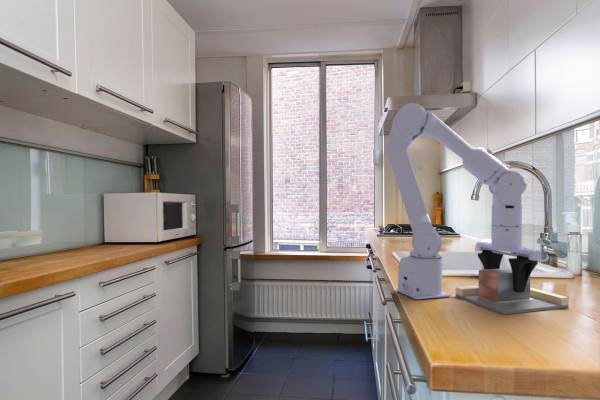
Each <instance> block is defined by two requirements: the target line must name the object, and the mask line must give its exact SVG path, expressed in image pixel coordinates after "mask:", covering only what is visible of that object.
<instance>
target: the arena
mask: <svg viewBox="0 0 600 400" xmlns="http://www.w3.org/2000/svg"><path fill="white" fill-rule="evenodd" d="M455 297H456V298H459V299H461V300H465V301H467V302H470V303H473V304H475V305H478V306H481V307H484V308H486V309H489V310H491V311H494V312H496V313H499V314H502V315H511V314H512V315H513V314H521V313H531V312H539V311H549V310H558V309H559V310H560V309H566V308H567V309H569V306H570V305H569V304H570V303H569V299H570V298H569V297H568V296H565V295H561V294H557V293H555V292H554V293H553V292H551V291H550V292H549V291H546V290H542V289H537V288H533V287H531V286H530V299H525V300H514V301H503V302H491V301H488V300H485V299H483V298H480V297H479V284H478V285H469V286H468V285H465V286H464V285H463V286H456V287H455Z"/></svg>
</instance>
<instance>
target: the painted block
mask: <svg viewBox="0 0 600 400" xmlns="http://www.w3.org/2000/svg"><path fill="white" fill-rule="evenodd" d="M478 285H479V297H480V298H483V299H485V300H488V301H491V302H503V301H514V300H525V299H530V287H531V275H530V276H529V278H528V281H527V284H526V287H525V290H524V292H518V293H517V292H514V289H513V274H512V269H511V267H508V268H500V269H486V270H482V269H479V270H478Z"/></svg>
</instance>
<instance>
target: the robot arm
mask: <svg viewBox="0 0 600 400" xmlns="http://www.w3.org/2000/svg"><path fill="white" fill-rule="evenodd" d="M421 134H422V135H421ZM420 135H421V137H422V138H425V139H426V138H427V139H435V140H436V141H438V142H439V143H440V144H442V145H443V146H444V147H445V148H447V149H448V150H449V151H451V152H452V153H454V154H455V155H456V156H458V157H459V158H461V160H462V167H463V168H464V169H465V170H466V171H467V172H469V174H471V175H472V176H474V177H475V178H476V179H477V180H479V181H480V182H481V183H482V184H483V185H485V186H487V185H488V189H489V193H490V194H492V204H491V226H490V227H491V228H490V229H491V231H490V232H491V234H490V235H491V236H490V239H491V243H487V242H478V241H477V242H476V243H477V250H479V251H482V253H478V256H477V258H478V257H479V258H478V259H480V260H479V262H480V261H481V263H482V265H483V267H484V269H485V270H486V269H501V262H502V259H503V256H504V255H505V256H511V257H513V258H508V262H509V264H510V268H511V269H512V274H513V289H514V292H517V293H518V292H524V290H525V287H526V284H527V281H528V278H529V276H530V277H531V273H532V272H533V271H534V269H535V267H536V266H537V265H538V263H539V261H542V250H539V249H533V248H530V247H525V246H523V245H522V241H523V240H522V238H523V237H522V235H523V234H522V233H523V232H522V230H523V228H522V226H523V225H522V224H523V204H522V199H523V198H522V194H524V192H525V191H526V188H527V185H528V184H527V183H526V181H525V180H524V179H525V178H524V177H523V176H522V174H520V173H519V172H517V171H515V170H514V171H513V170H510V169H511V166H510V165H509V164H508V163H506V164H504V163H503V162H501V161H500V159H498V158H496V156H494V155H492V154H493V153H494V151H493V150H491V149H490V148H487V149H485V148H484V147H481V146H480V147H473V146H472V145H470V144H469V143H468V142H467V141H466V140H464V139H463V138H462V137H461V136H460V135H459V134H457V132H455V131H454V130H453V129H452V128H451V127H450V126H448V125H447V124H446V123H445V122H444V121H442V120H441V119H440V118H439V117H437V116H436V115H435V114H434V113H433V112H431V111H429V110H425V108H424V107H423V106H422V105H421V104H419V103H416V102H415V103H414V102H410V103H407V104H405V105H403V106H402V107H401V108H400V109H399V110H398V112H397V113H396V115H395V116H394V117H393V119H392V124H391V129H390V131H389V134H388V138H387V142H386V146H385V148H386V149H385V150H386V153H387V157H388V159H389V163H390V166H391V169H392V171H393V175H394V178H395V181H396V185H397V187H398V190H399V193H400V196H401V200H402V202H403V205H404V208H405V211H406V212H405V213H406V214H407V217H408V221H409V224H410V228H411V231H412V232H411V233H412V237H411V245H412V248H413V249H412V250H411V251H409V255H408V256H403V257H402V258H401V259H400V260H399V262H398V267H397V268H398V271H397V272H398V274H397V277H398V278H397V283H398V284H397V288H396V292H399V293H401V294H403V295H405V296H408V297H410V298H412V299H414V300H423V299H424V300H425V299H434V298H446V297H447V298H449V297H451V295H452V294H451V293H448V292H445V291H443V253H440V251H441V249H442V247H443V241H442V237H441V235H440V234H439V232H438V231H437V230H436V229H434V228H435V227H433V224H432V221H431V219H430V215H429V213H428V210H427V207H426V204H425V201H424V199H423V196H422V192H421V189H420V186H419V183H418V181H417V180H418V179H417V177H416V173H415V171H414V168H413V165H412V163H411V159H410V155H409V153H408V150H409V148H410V147H411V145H412V143H413V142H414V140H416V138H418V137H419V136H420ZM496 250H498V251H496ZM481 263H480V264H481ZM482 265H481V266H482Z"/></svg>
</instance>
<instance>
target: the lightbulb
mask: <svg viewBox="0 0 600 400" xmlns="http://www.w3.org/2000/svg"><path fill="white" fill-rule="evenodd" d="M477 242H487V243H491V238H483V239H479V240H478V241H477ZM477 242H476V243H475V246H474V253H475V255H476V256H477V258H478V259H479V257H478V253H482V251H479V250H477ZM496 251H498V250H496ZM479 262H480V265H481V266H480V267H481V270H485V269H484V267H483V265H482V263H481V261H480V259H479Z"/></svg>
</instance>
